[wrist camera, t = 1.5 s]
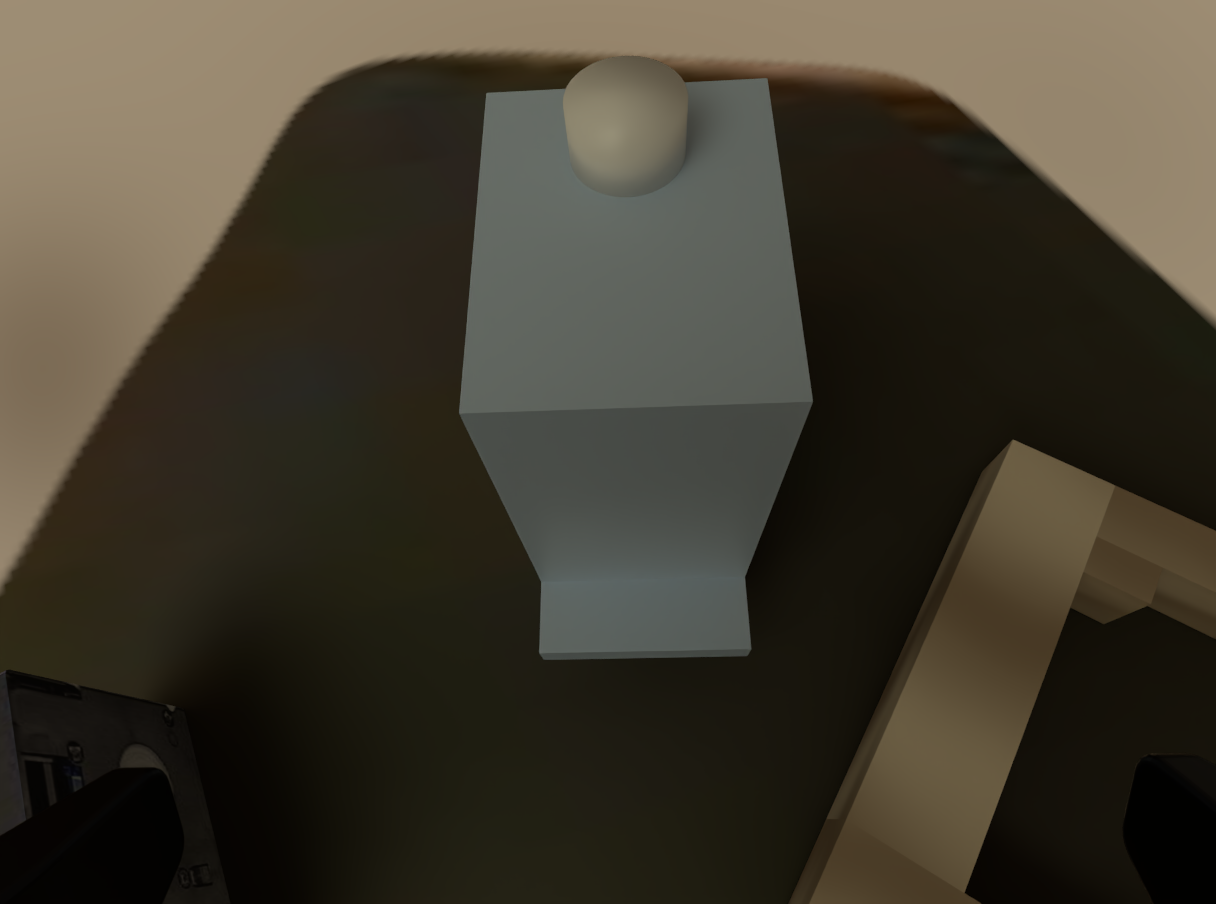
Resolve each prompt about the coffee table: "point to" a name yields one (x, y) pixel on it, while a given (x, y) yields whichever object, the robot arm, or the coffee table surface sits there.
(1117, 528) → the plate
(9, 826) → the mini dv tape
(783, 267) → the servo
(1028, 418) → the coffee table surface
